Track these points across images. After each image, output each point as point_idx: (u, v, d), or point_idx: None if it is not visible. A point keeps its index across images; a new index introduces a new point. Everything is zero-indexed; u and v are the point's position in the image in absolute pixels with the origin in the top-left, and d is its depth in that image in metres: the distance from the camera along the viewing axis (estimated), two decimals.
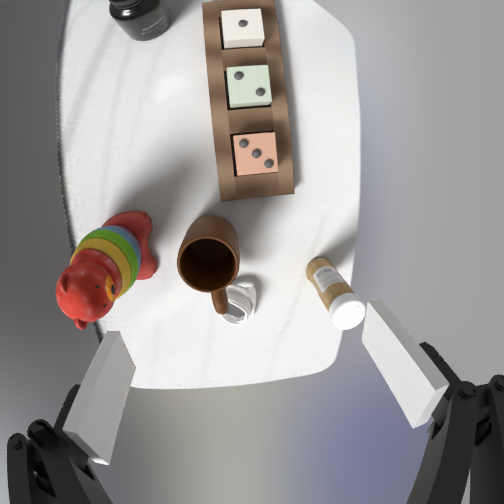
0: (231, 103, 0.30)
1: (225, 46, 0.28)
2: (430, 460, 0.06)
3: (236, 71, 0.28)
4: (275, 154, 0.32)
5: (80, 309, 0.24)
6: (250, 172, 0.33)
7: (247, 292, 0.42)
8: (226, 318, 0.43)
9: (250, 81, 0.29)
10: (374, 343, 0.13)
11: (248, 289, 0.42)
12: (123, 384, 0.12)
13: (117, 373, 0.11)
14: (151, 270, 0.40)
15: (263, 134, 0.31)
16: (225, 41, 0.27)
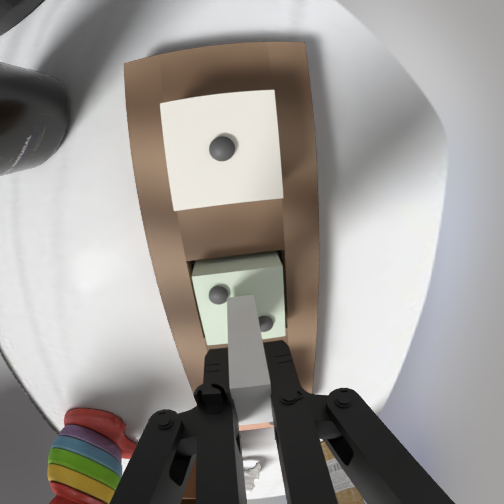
0: (209, 343, 0.17)
1: None
2: (283, 473, 0.07)
3: (213, 285, 0.15)
4: None
5: None
6: (247, 428, 0.19)
7: (251, 475, 0.28)
8: None
9: None
10: None
11: (252, 471, 0.28)
12: None
13: None
14: None
15: None
16: None
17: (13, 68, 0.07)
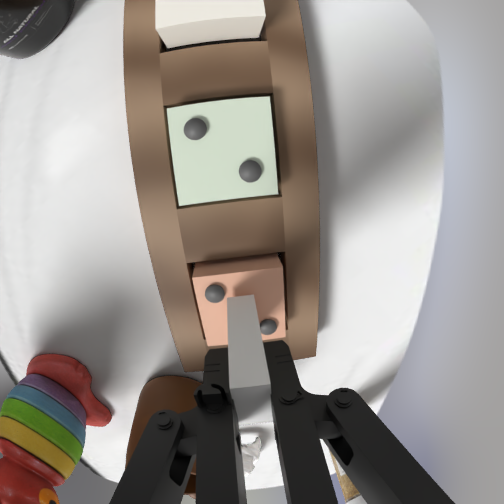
0: (181, 203, 0.13)
1: (168, 43, 0.11)
2: (283, 473, 0.07)
3: (190, 117, 0.12)
4: (282, 309, 0.16)
5: None
6: None
7: (249, 451, 0.24)
8: None
9: (225, 143, 0.13)
10: None
11: (251, 447, 0.25)
12: None
13: None
14: (104, 421, 0.23)
15: (257, 272, 0.15)
16: (160, 30, 0.09)
17: None
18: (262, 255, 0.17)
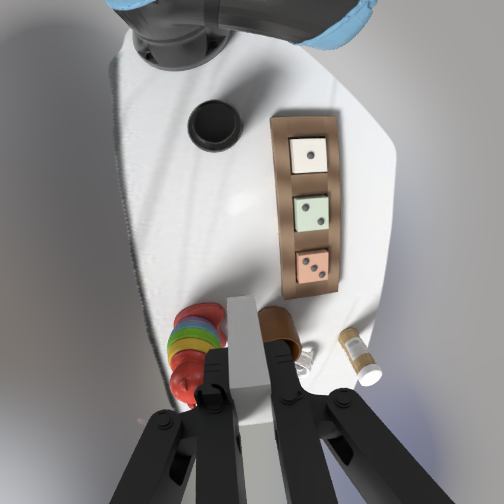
0: (298, 231, 0.42)
1: (292, 171, 0.41)
2: (283, 473, 0.07)
3: (304, 203, 0.40)
4: (327, 267, 0.45)
5: None
6: (308, 281, 0.45)
7: (309, 356, 0.53)
8: None
9: (314, 212, 0.41)
10: None
11: (310, 353, 0.53)
12: None
13: None
14: (223, 345, 0.51)
15: (320, 254, 0.44)
16: (295, 172, 0.39)
17: None
18: (319, 248, 0.46)
